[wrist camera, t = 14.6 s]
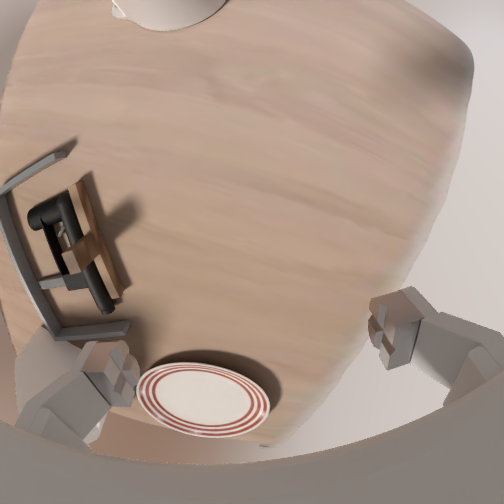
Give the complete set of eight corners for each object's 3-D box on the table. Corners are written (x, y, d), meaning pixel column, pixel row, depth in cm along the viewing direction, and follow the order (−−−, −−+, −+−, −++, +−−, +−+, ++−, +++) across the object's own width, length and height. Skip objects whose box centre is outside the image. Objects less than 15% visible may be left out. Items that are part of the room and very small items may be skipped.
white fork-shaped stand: (117, 366, 46) (79, 470, 23) (111, 400, 52) (84, 485, 29) (40, 325, 42) (-17, 409, 19) (45, 366, 48) (5, 440, 25)
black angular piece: (54, 319, 39) (117, 314, 38) (10, 218, 31) (69, 190, 30) (62, 309, 42) (125, 303, 41) (22, 212, 34) (82, 185, 33)
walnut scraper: (75, 184, 32) (41, 197, 25) (85, 179, 32) (51, 192, 25) (116, 290, 40) (95, 322, 32) (126, 288, 40) (106, 320, 32)
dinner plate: (127, 401, 52) (124, 411, 48) (162, 329, 43) (157, 342, 40) (230, 436, 58) (230, 446, 55) (295, 381, 49) (297, 393, 46)
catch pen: (0, 191, 31) (-10, 195, 28) (65, 150, 30) (53, 152, 27) (61, 332, 43) (55, 341, 40) (130, 324, 42) (125, 335, 39)
